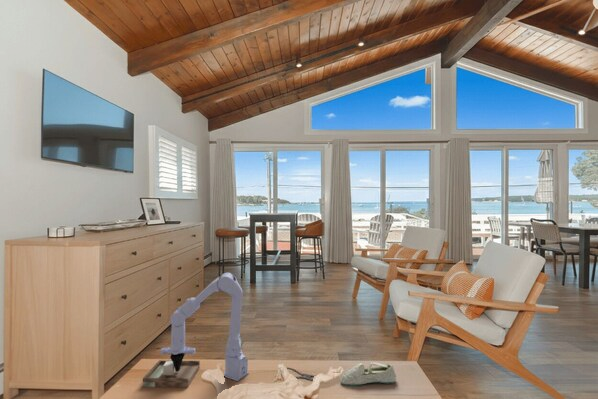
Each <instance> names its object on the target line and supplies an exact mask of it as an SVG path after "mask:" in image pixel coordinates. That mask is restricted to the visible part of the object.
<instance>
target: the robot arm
mask: <svg viewBox="0 0 598 399" xmlns="http://www.w3.org/2000/svg"><path fill="white" fill-rule="evenodd" d="M220 291H223V292H225V293H227V294H228V295H229V296H230V297H231V307H230V321H229V333H228V338H227V343H226V347H225V358H224V361H225V366H224V367H225V368H224V371H223V372H224V375H225V377H224V378H228V379H231V380H234V381H235V382H237V381H239V380H241V379H242V378H244V377H245V376H247V375H248V374H249V373H250V372H249V371H248V367H249V366H248V363H249V362H248V360H249V359H248V358H247V356H246V355H244V354H243V350H242V349H241V348H242V337H241V321H242V308H243V293H244V292H243V291H244V290H243V289H242V287H241V285H240V284H239V282H238V279H237V277H236V276H235V275H234V274H233V273H231V272H224V273H222V274H221V275H220V276H217V278H215V279H214V280H213V281H211V282H210V283H209V284H208V285H207V286H206V287H205V288H204V289H203V290H202V291H201V292H200V293H198V294H197V295H196V297H190V298H187V299H186V300H185V302H184V303H183V304H182V305H181V306H178V307H177V310H175V311H174V312H173V313H172V315H171V316H170V320H169V322H170V324H171V330H170V333H171V335H170V339H171V340H170V342H171V343H170V344H171V346H169V347H161V349H160V353H159V354H160V355H165V354H170V356H169V357H170V358H169V359H171V360H172V362H173V364H174V367H175V371H177V372H178V371H179V370H180V366H181V363H182V361H184V357H185V356H186V355H188V354H189V355H190V354H191V355H195V354H196V347H190V346H186V319H188V318H190V316H192V315H193V314H194V313H195V312H196V311H198V309H200V308H201V303H202V302H203V301H205V300H206V299H207V298H208V297H210V295H212V294H213V293H215V292H220Z"/></svg>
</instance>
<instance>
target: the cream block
mask: <svg viewBox="0 0 598 399" xmlns="http://www.w3.org/2000/svg"><path fill="white" fill-rule="evenodd" d="M174 372H175V367H174V364H173V362H172V361H166V363H165V364H164V365H163V375H173V374H174Z"/></svg>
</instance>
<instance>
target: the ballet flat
mask: <svg viewBox="0 0 598 399" xmlns="http://www.w3.org/2000/svg"><path fill="white" fill-rule="evenodd" d="M373 365H374V366H377V367H372V366H373ZM396 380H397V374H396V372H395V368H394V366H393V364H390V363H388V364H383V363H379V362H375V361H374V362H372V361H371V362H370V363H369V366H368V368H366V367H365V365H364V364H363V363H362V362H360V363H358V364H356V365H354V366H353V367H352V368H349V369H348V370H346V371H345V372H343V374H341V375H340V384H341V385H343V384H344V386H348V385H350V386H352V387H353V386H357V387H358V386H362V385H365V384H370V383H371V384H373V383H380V384H382V383H383V384H390V383H391V384H394V383H395V381H396Z"/></svg>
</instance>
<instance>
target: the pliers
mask: <svg viewBox="0 0 598 399" xmlns="http://www.w3.org/2000/svg"><path fill="white" fill-rule="evenodd" d="M287 370H291V371H293V372H295V373H297V374H299V375H300V376H295V377H296V378H297V379H303V380H308V381H310V382H313V381H312V380H313V378H314V376H315V375H313V374H308V373H302V372H300V371H298V370H297V369H295V368H292V367H287Z"/></svg>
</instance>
